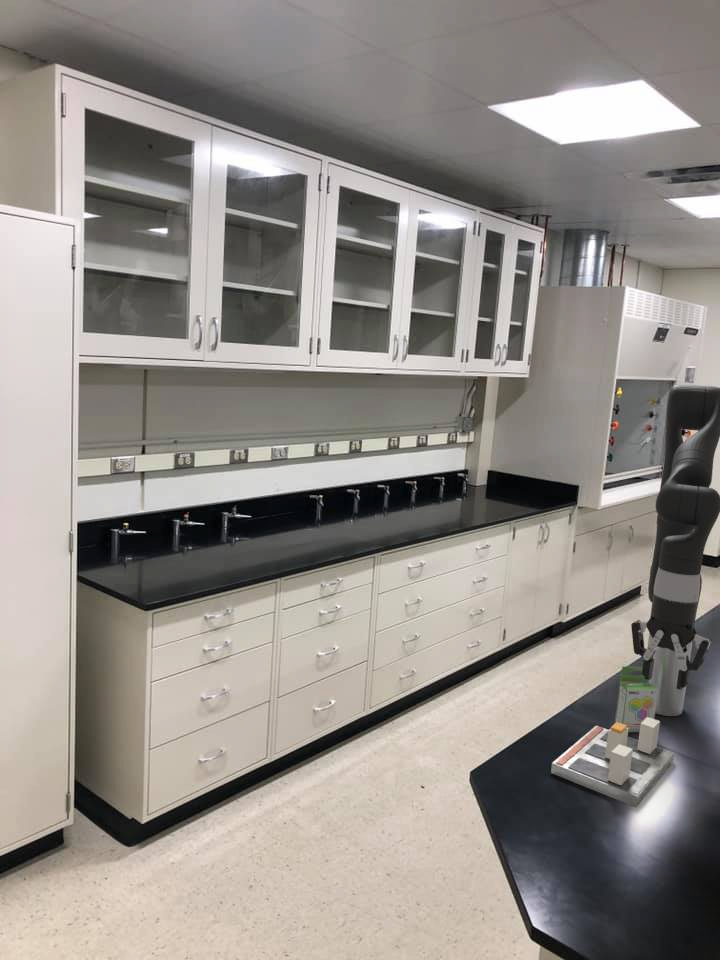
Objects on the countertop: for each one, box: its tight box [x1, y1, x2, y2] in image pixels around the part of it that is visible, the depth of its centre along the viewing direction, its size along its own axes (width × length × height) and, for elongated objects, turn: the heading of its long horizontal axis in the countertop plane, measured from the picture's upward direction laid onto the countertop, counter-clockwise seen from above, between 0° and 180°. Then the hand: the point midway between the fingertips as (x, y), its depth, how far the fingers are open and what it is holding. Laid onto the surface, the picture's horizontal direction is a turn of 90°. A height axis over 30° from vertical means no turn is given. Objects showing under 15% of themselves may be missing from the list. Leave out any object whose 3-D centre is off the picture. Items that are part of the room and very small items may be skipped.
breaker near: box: [608, 744, 633, 785], centre depth 139 cm, size 4×2×6 cm, turn 142°
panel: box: [550, 725, 675, 808], centre depth 148 cm, size 22×16×2 cm
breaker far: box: [637, 717, 661, 754], centre depth 151 cm, size 4×2×6 cm, turn 142°
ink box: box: [614, 665, 658, 733], centre depth 164 cm, size 7×4×13 cm, turn 98°
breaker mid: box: [605, 722, 629, 759], centre depth 147 cm, size 4×2×6 cm, turn 142°
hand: (663, 683), depth 141 cm, fingers open, 5 cm apart
